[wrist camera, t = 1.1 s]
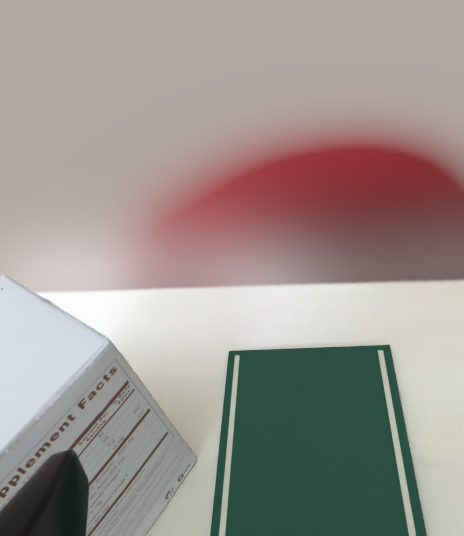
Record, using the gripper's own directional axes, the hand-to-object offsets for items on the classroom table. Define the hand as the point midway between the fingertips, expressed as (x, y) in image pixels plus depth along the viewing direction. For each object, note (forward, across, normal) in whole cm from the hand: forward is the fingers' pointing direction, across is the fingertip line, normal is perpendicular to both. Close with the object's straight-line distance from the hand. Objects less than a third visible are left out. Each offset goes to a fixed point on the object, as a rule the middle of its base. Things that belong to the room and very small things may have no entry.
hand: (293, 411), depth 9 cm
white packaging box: (+12, +9, +13) cm, 20 cm away
